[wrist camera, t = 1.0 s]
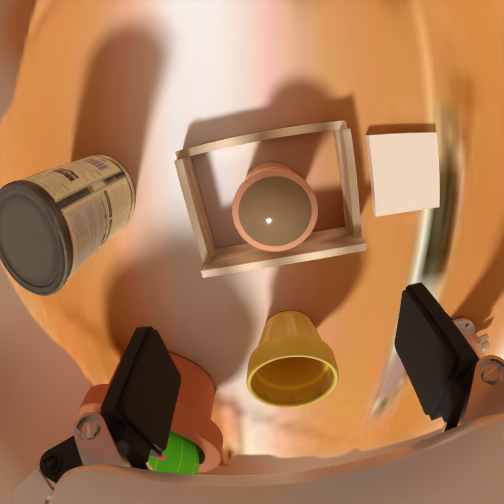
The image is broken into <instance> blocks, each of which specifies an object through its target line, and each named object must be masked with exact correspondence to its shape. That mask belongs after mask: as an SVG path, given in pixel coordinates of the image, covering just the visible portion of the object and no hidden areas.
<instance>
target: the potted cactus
mask: <svg viewBox="0 0 504 504" xmlns="http://www.w3.org/2000/svg"><path fill="white" fill-rule="evenodd" d="M169 354H170V356H171V358H172V360H173V362H174V363H175V365H176V367H177V369H178V371H179V372H180V374H181V385H180V389H179V394H178V398H177V402H176V407H175V411H174V415H173V420H172V425H171V429H170V434H169V438H168V443H167V447H166V450H165V451H162V456H161V457H156V456H149V459H148V462H149V464H150V465H151V467H152V468H153V470H154V471H160V472H169V473H179V474H191V475H197V474H198V472H205V471H208V470H211V469H213V468H215V467H216V466H218V464H219V463H220V461H221V455H222V446H223V436H222V433H221V431H220V429H219V428H218V426H217V425H216V424H215V423H214V422H213V421H212V420H211V414H212V408H213V401H214V385H213V383H212V381H211V379H210V377H209V376H208V374H207V373H206V372H205V371H204V370H203V369H202V368H200V367H199V366H198V365H196V364H195V363H193V362H191V361H189V360H187V359H185V358H183V357H180V356H178V355H175V354H172V353H169ZM121 359H122V358H121ZM120 362H121V360H120ZM120 362H119V364H120ZM119 364H118V366H119ZM118 366H117V368H118ZM117 368H116V370H117ZM116 370H115V372H114V374H113V376H112V378H111V380H110V382H109V384H100V385H96V386H93V387H92V388H90V389H89V391H88V392H87V394H86V396H85V398H84V400H83V402H82V404H81V406H80V409H79V417H80V416H82V415H83V414H85V413H88V412H96V413H99V414H100V412H101V409H100V408H101V405H102V403H103V401H104V398H105V396H106V393H107V391H108V389H109V386H110V384H111V382H112V379H113V377H114V375H115V373H116Z"/></svg>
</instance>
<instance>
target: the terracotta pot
mask: <svg viewBox="0 0 504 504" xmlns="http://www.w3.org/2000/svg"><path fill="white" fill-rule="evenodd" d="M232 216H233V221H234V225H235V227H236V229H237V231H238V232H239V234H240V235H241V236H242V238H243V239H244V240H245V241H247V242H248V243H249V244H251V245H252V246H254V247H256V248H258V249H261V250H265V251H272V252H277V251H284V250H288V249H291V248H293V247H295V246H297V245H299V244H300V243H302V242H303V241H304V240H305V239H306V238H307V237H308V236H309V235H310V233H311V232H312V230H313V228H314V226H315V224H316V221H317V216H318V205H317V200H316V197H315V194H314V193H313V191H312V189H311V188H310V186H309V185H308V184H307V182H306V181H305V180H304V179H303V178H301V177H300V176H299V175H297V174H295V173H294V172H293V171H292V170H291V169H290V168H289V167H287V166H285V165H283V164H281V163H276V162H267V163H263V164H260V165H258V166H256V167H255V168H253V169H252V170H251V171H250V172H249V174H248V175H247V177H246V179H245V181H244V182H243V183H242V184H241V185H240V187H239V189H238V190H237V192H236V195H235V197H234V201H233V206H232Z"/></svg>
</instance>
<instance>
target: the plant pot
mask: <svg viewBox="0 0 504 504" xmlns="http://www.w3.org/2000/svg"><path fill="white" fill-rule="evenodd" d="M338 377H339V374H338V368H337V364H336V360H335V357H334V354H333V351H332V350H331V348H330V347H329V346H328V345H327V344H326V343H325V342H324V341H322V340H321V338H320V336H319V334H318V332H317V330H316V329H315V327H314V325H313V323H312V321H311V320H310V318H309V317H308V316H306V315H305V314H303V313H300V312H297V311H284V312H280V313H278V314H276V315H274V316H272V317H271V318H270V319H269V320H268V321H267V323H266V325H265V327H264V330H263V334H262V337H261V339H260V343H259V345H258V347H257V348H256V349H255V350H254V351H253V353H252V354H251V357H250V359H249V364H248V371H247V387H248V390H249V392H250V393H251V394H252V396H253V397H255V398H256V399H257V400H259V401H260V402H262V403H264V404H267V405H270V406H274V407H280V408H295V407H302V406H306V405H310V404H313V403H315V402H318V401H320V400H322V399H323V398H325V397H326V396H328V395H329V394H330V393H331V392H332V391H333V389H334V388H335V387H336V385H337V382H338Z"/></svg>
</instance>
